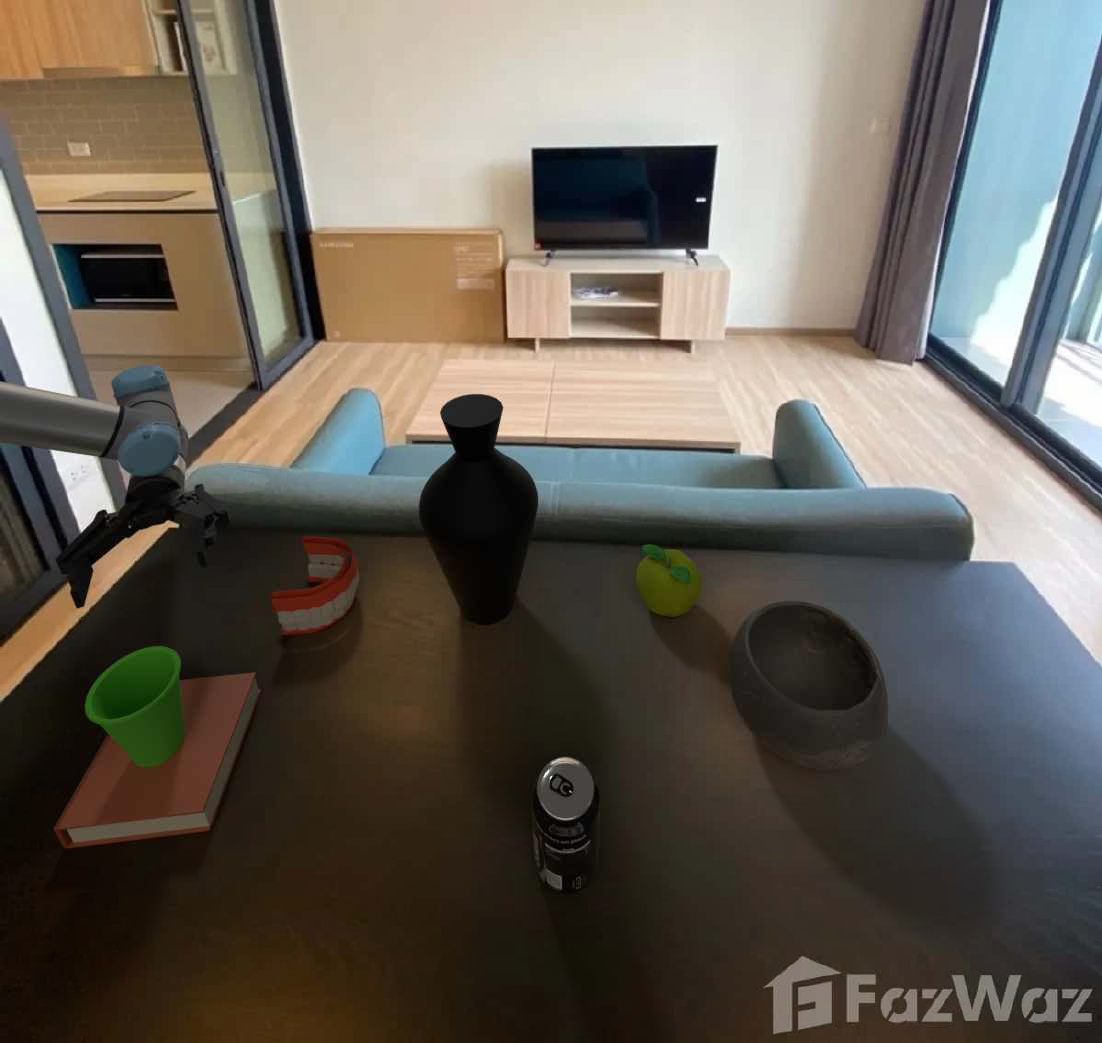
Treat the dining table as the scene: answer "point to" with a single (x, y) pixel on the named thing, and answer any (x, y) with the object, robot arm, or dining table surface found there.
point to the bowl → (808, 685)
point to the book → (165, 772)
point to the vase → (479, 511)
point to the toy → (319, 588)
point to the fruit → (668, 581)
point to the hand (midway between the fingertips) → (141, 579)
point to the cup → (141, 704)
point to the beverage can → (566, 825)
